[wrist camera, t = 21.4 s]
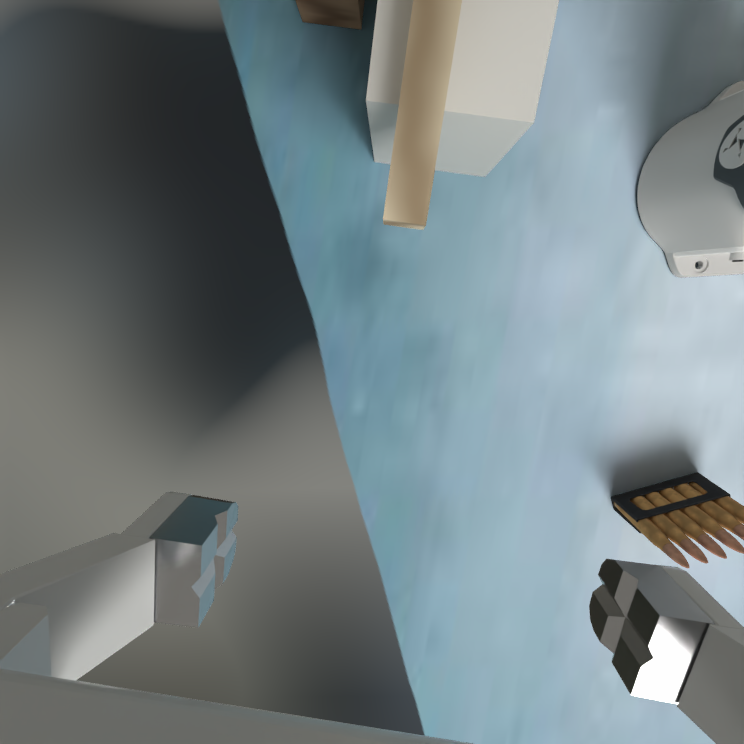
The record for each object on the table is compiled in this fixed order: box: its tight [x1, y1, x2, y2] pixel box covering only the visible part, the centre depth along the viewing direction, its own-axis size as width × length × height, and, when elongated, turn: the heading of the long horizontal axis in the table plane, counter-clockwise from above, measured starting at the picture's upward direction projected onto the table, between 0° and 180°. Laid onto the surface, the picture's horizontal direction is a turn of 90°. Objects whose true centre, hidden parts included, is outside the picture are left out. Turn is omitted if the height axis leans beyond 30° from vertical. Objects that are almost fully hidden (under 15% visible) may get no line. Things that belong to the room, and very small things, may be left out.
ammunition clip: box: [611, 472, 744, 568], centre depth 44 cm, size 11×2×12 cm, turn 110°
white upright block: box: [366, 0, 559, 177], centre depth 34 cm, size 12×18×15 cm, turn 172°
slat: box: [383, 0, 462, 230], centre depth 26 cm, size 3×24×2 cm, turn 172°
